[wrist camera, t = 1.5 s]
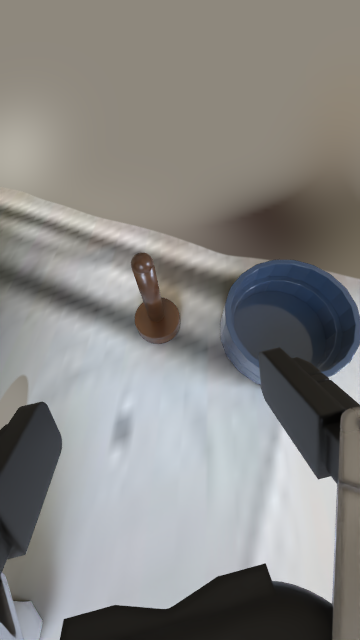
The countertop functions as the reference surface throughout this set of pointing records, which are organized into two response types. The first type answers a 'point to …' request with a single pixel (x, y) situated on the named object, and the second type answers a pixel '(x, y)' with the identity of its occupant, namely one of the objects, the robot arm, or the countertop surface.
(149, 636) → the robot arm
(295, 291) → the bowl
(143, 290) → the brown stamp
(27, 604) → the salt shaker
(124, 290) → the countertop surface
